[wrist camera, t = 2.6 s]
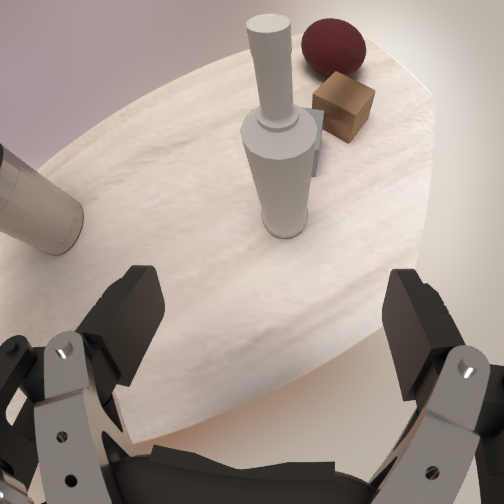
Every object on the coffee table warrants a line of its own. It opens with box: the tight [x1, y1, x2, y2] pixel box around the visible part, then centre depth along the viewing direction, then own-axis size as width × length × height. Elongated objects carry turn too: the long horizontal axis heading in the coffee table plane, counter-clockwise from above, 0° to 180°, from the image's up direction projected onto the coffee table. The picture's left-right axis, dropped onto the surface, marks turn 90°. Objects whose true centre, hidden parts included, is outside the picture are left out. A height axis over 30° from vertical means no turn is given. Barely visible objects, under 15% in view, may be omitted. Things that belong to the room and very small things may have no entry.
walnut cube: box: [312, 71, 376, 144], centre depth 35 cm, size 6×6×6 cm
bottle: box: [240, 14, 317, 238], centre depth 22 cm, size 5×5×25 cm
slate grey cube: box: [301, 107, 324, 177], centre depth 34 cm, size 6×6×6 cm
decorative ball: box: [301, 18, 366, 76], centre depth 36 cm, size 10×10×10 cm
